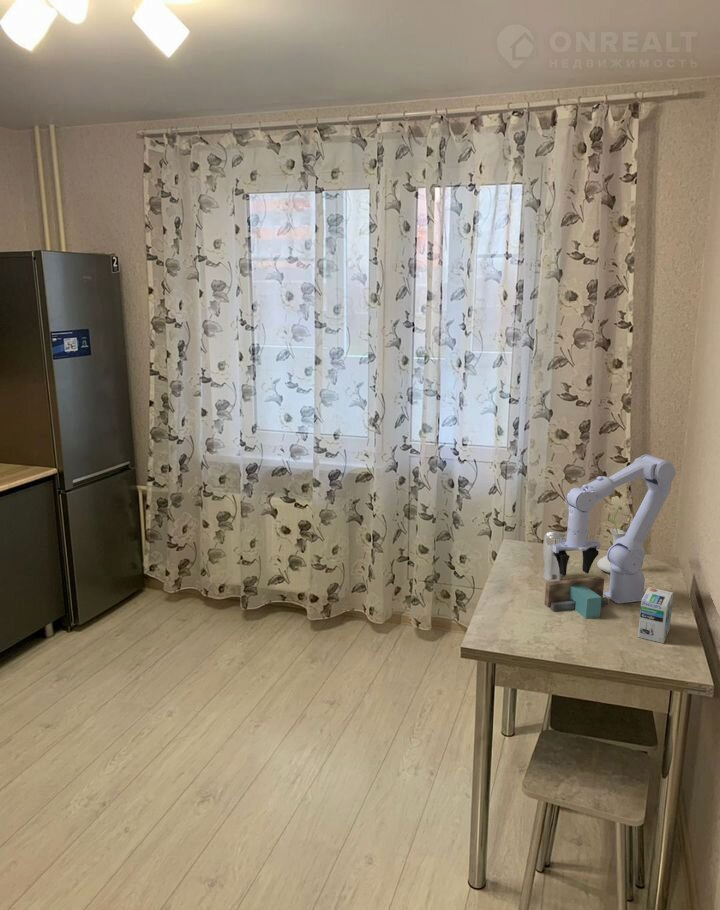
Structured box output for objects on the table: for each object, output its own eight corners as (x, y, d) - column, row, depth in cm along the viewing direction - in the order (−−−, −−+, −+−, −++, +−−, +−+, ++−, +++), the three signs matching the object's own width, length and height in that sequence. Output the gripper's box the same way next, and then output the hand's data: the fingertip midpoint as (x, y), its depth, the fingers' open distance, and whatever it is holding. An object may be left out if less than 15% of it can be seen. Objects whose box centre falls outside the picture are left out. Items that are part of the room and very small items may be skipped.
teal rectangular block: (582, 603, 204) (583, 584, 202) (599, 616, 195) (601, 597, 194) (568, 605, 202) (570, 586, 201) (585, 618, 194) (587, 598, 193)
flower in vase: (638, 577, 223) (645, 503, 217) (603, 577, 223) (609, 503, 218) (623, 562, 236) (630, 492, 230) (590, 562, 236) (596, 492, 230)
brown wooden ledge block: (598, 598, 207) (600, 576, 205) (608, 605, 202) (610, 583, 201) (544, 604, 203) (546, 582, 201) (553, 611, 198) (554, 589, 196)
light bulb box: (663, 644, 180) (668, 606, 177) (636, 637, 183) (640, 600, 181) (670, 628, 188) (674, 591, 186) (644, 622, 192) (647, 586, 190)
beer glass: (565, 577, 223) (569, 533, 219) (559, 584, 217) (562, 539, 214) (544, 572, 226) (547, 529, 223) (537, 579, 221) (540, 535, 217)
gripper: (563, 535, 193) (559, 580, 196) (607, 531, 197) (603, 576, 200) (549, 527, 200) (546, 571, 203) (593, 524, 203) (589, 567, 206)
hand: (574, 573), depth 202 cm, fingers open, 7 cm apart
